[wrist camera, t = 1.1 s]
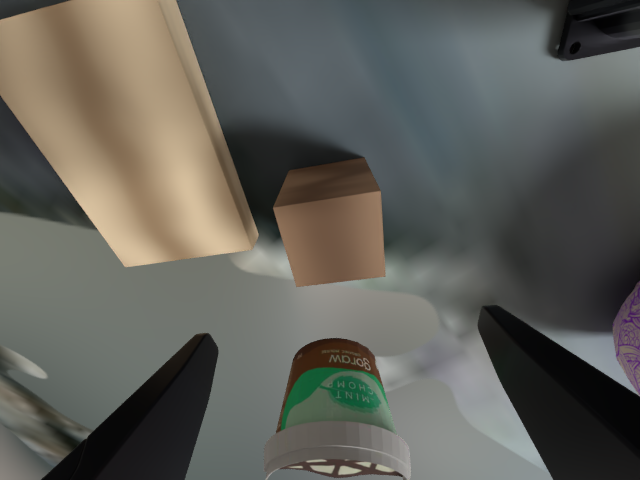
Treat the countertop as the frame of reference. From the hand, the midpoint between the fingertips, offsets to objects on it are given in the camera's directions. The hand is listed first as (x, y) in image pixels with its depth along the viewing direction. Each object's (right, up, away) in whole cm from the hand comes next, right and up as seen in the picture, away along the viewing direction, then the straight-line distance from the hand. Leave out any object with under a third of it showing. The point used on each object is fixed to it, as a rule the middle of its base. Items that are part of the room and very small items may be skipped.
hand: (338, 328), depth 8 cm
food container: (+1, -9, +19) cm, 21 cm away
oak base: (-11, +9, +8) cm, 16 cm away
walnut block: (0, +6, +10) cm, 11 cm away
